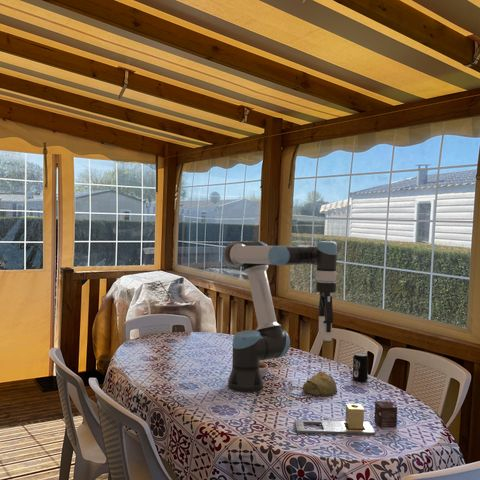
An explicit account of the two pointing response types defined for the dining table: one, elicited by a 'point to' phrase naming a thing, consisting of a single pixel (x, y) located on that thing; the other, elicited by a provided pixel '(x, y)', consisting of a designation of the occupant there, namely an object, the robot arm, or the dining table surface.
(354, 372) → the beverage can
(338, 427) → the grey board with holes
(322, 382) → the pastry
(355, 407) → the gold block with hole
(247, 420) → the dining table surface
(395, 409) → the box
